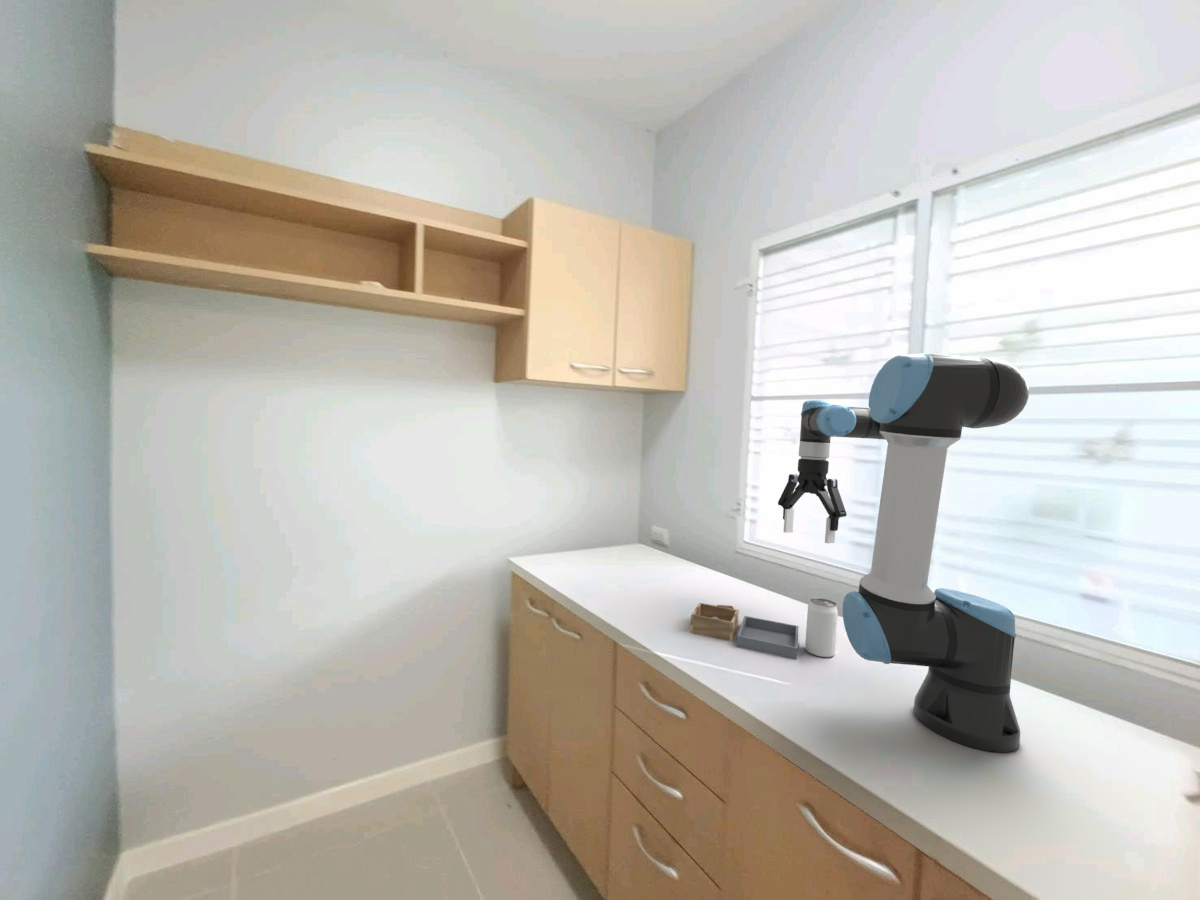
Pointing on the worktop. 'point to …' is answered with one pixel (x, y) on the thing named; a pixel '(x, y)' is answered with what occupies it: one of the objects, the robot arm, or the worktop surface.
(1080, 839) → the worktop surface
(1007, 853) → the worktop surface
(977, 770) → the worktop surface
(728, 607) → the walnut block
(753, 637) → the grey tray
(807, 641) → the can
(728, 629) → the oak bin
